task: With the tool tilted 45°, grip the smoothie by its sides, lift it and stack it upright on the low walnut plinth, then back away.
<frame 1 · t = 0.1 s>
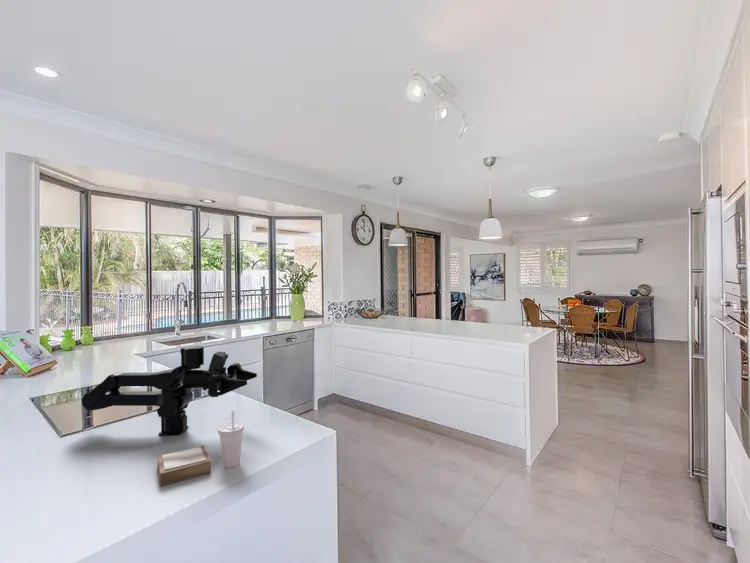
hand: (252, 378, 121), 17 cm above the counter, tool horizontal, fingers open, 9 cm apart
smoothie: (231, 464, 100), on the counter
drinking glass: (173, 409, 144), on the counter
plinth: (183, 470, 97), on the counter
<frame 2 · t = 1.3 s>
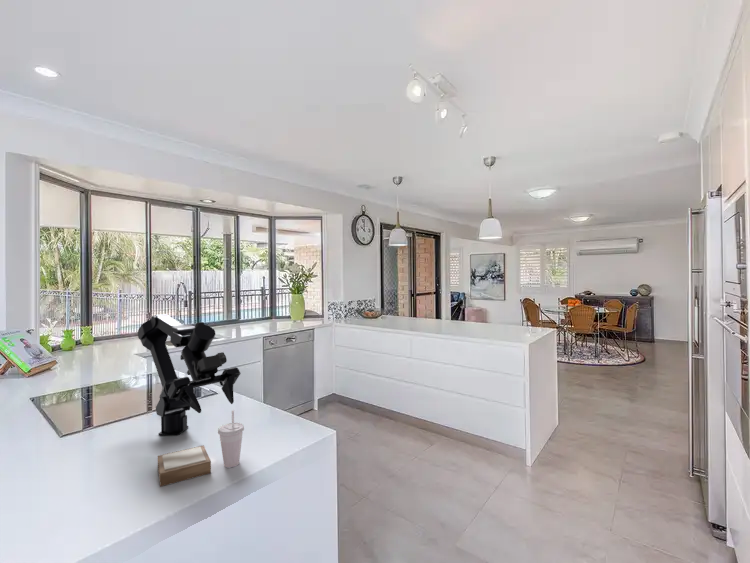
hand: (217, 407, 104), 13 cm above the counter, tool tilted 45°, fingers open, 9 cm apart
nothing on the counter moved.
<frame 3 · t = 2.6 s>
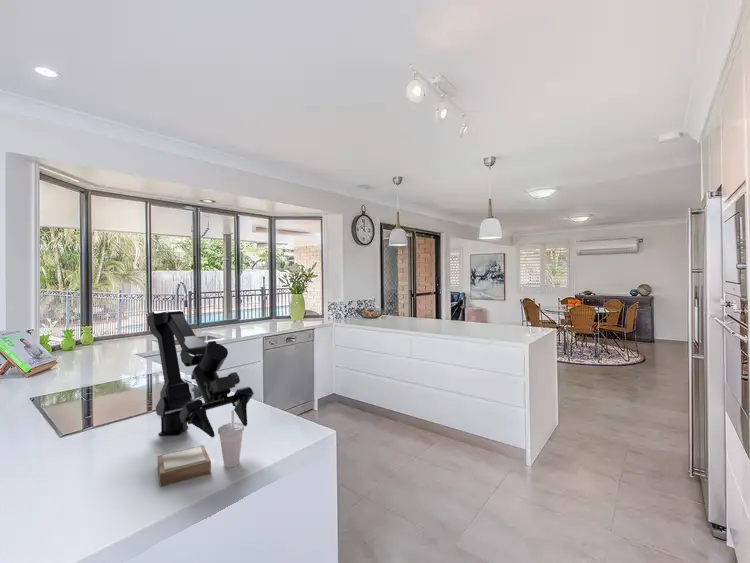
hand: (230, 430, 100), 9 cm above the counter, tool tilted 45°, fingers open, 9 cm apart
nothing on the counter moved.
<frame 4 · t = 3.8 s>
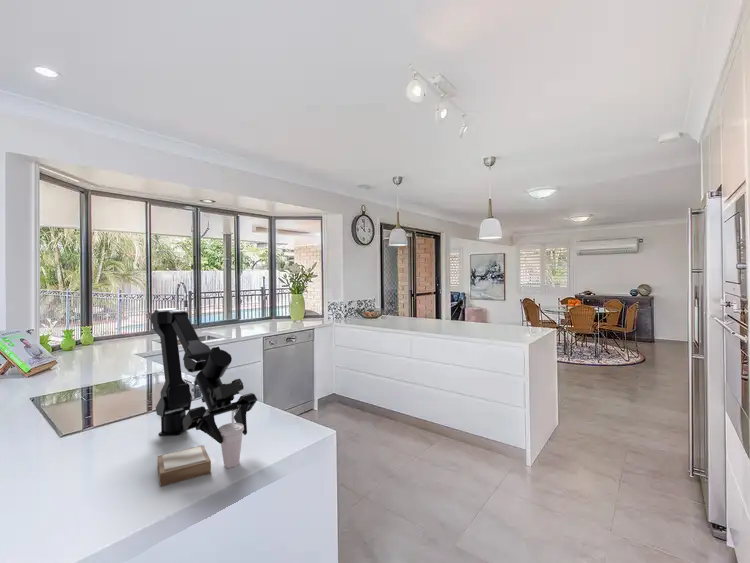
hand: (234, 438, 99), 7 cm above the counter, tool tilted 45°, fingers closed on smoothie, 6 cm apart
smoothie: (231, 464, 100), on the counter, touching gripper
everything else where it was.
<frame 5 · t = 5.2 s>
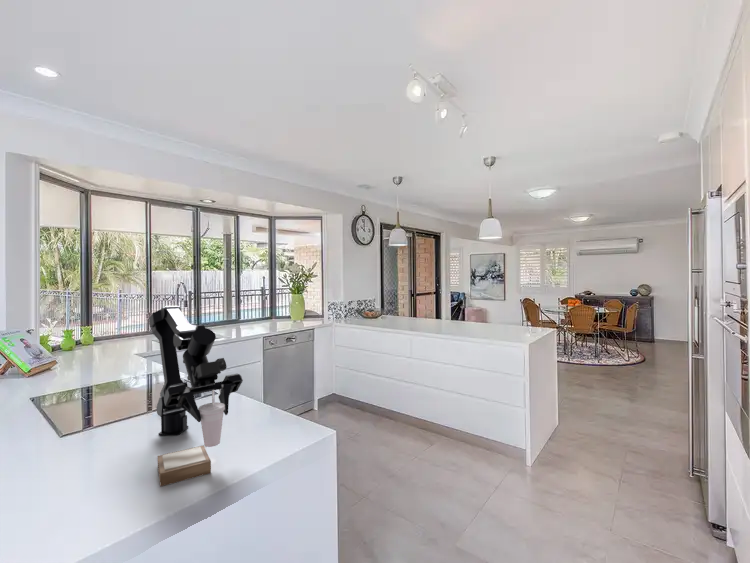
hand: (213, 417, 97), 13 cm above the counter, tool tilted 45°, fingers closed on smoothie, 6 cm apart
smoothie: (212, 444, 98), point 6 cm above the counter, touching gripper
everything else where it was.
when the fingers open (11 cm above the counter, at t = 6.6 s): smoothie stays where it is, resting on plinth.
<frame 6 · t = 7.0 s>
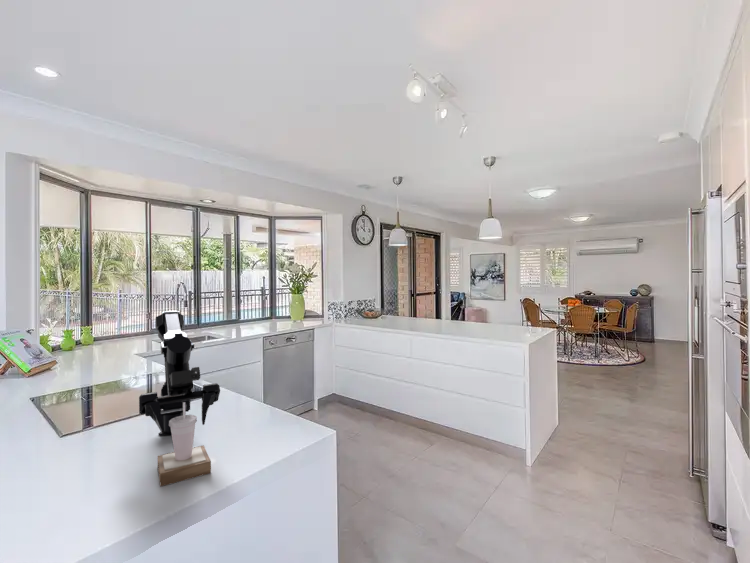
hand: (183, 428, 95), 11 cm above the counter, tool tilted 45°, fingers open, 9 cm apart
smoothie: (183, 457, 97), point 3 cm above the counter, touching plinth
everything else where it was.
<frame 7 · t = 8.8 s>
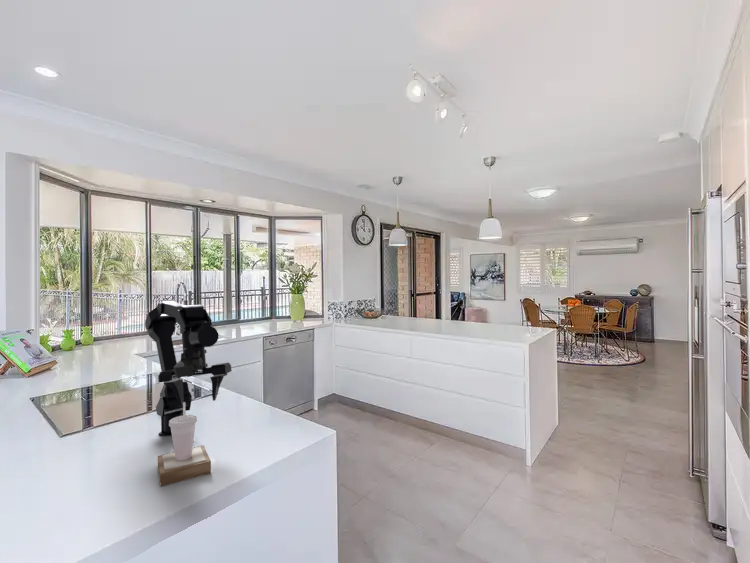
hand: (198, 402, 109), 13 cm above the counter, tool pointing down, fingers open, 9 cm apart
nothing on the counter moved.
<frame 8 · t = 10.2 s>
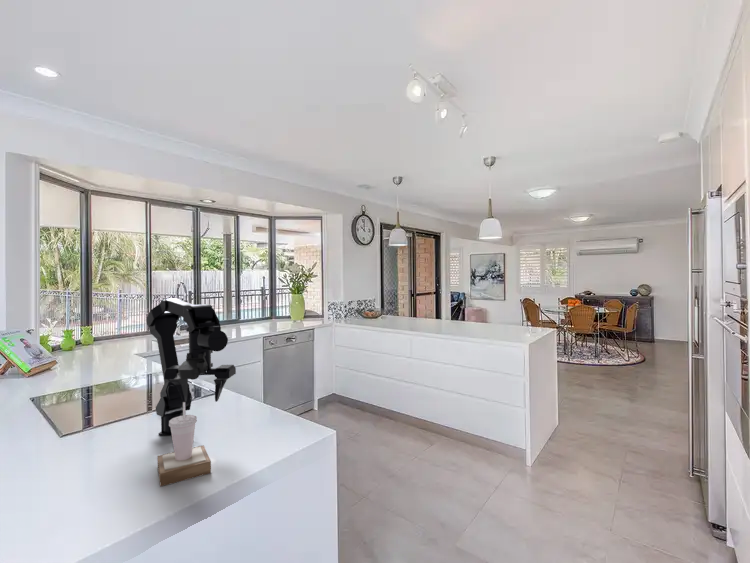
hand: (200, 401, 111), 13 cm above the counter, tool pointing down, fingers open, 9 cm apart
nothing on the counter moved.
at the end: smoothie inside the target area on the plinth (0.2 cm from its centre), point 3.1 cm above the plinth's base; smoothie tilted 0°; the gripper is holding nothing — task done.
